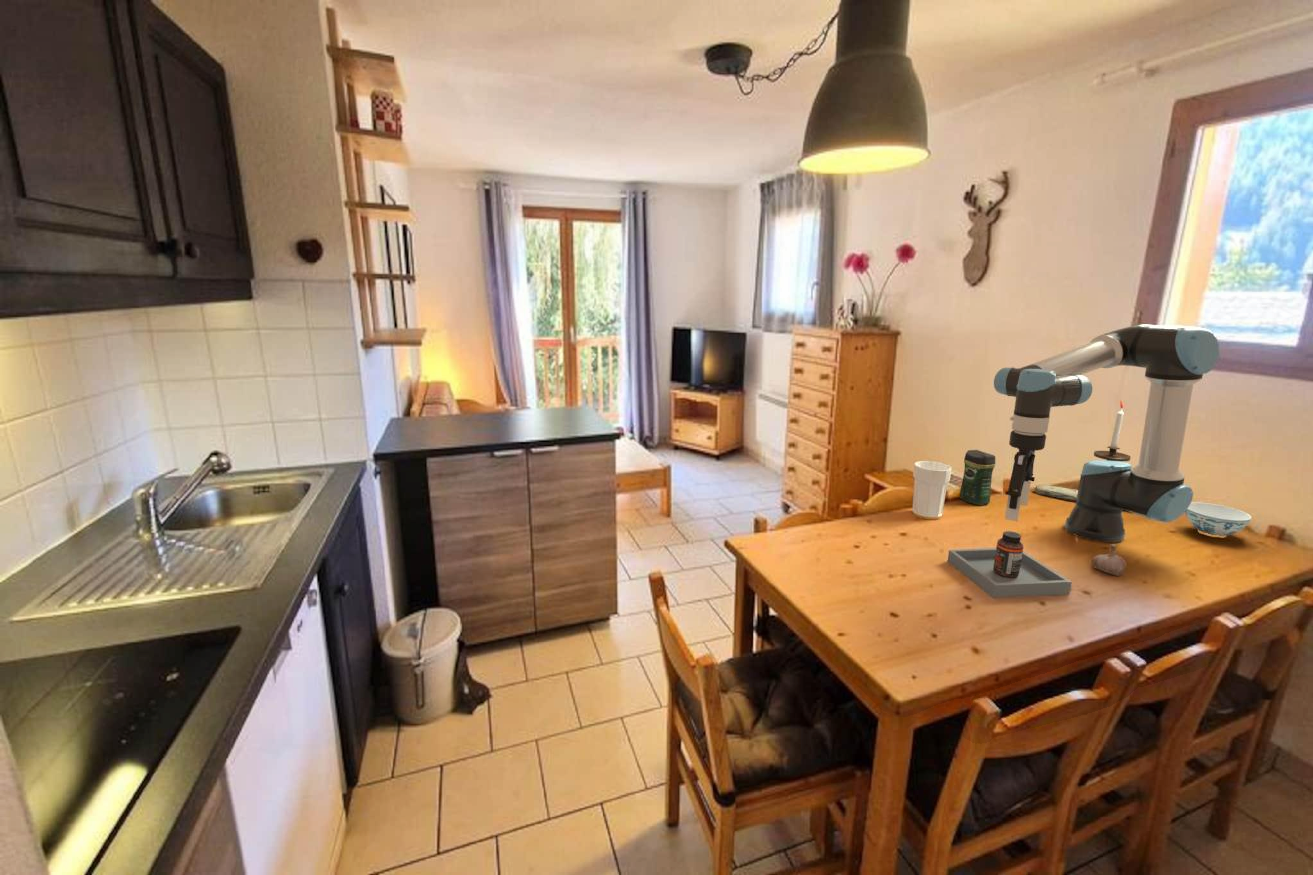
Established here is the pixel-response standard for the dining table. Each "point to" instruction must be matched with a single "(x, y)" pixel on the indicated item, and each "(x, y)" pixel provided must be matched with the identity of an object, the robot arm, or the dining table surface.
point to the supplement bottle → (1008, 555)
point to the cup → (930, 489)
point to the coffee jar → (977, 477)
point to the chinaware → (1216, 518)
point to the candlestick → (1114, 442)
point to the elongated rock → (1057, 492)
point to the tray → (1028, 582)
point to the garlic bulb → (1109, 562)
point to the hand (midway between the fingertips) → (1016, 511)
